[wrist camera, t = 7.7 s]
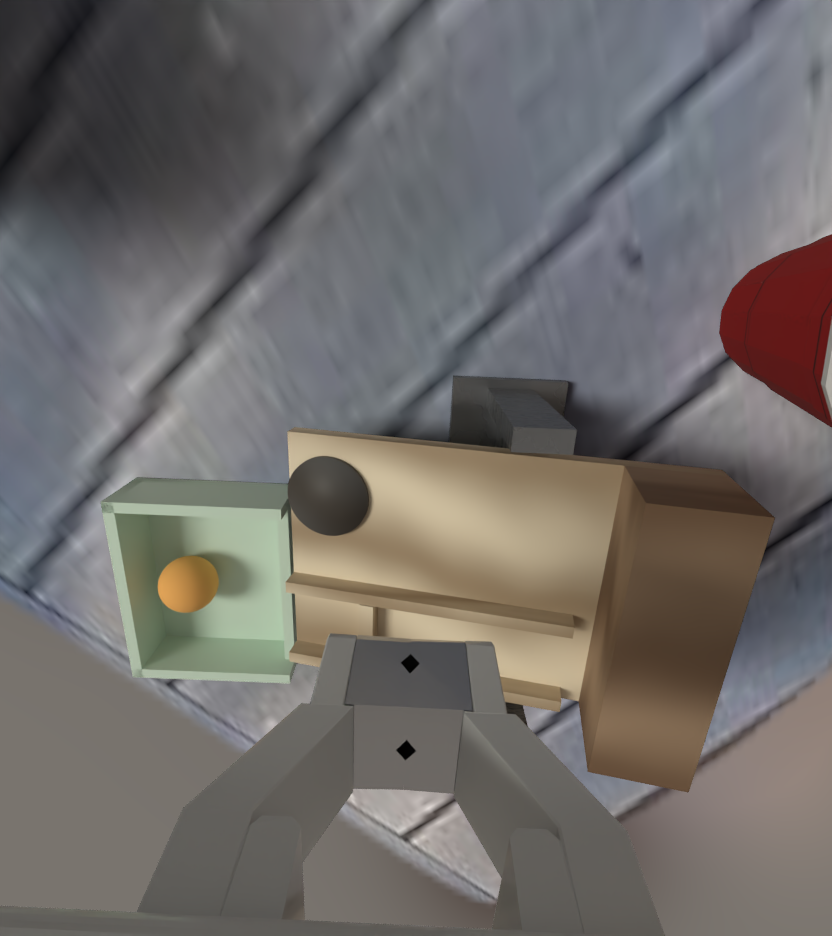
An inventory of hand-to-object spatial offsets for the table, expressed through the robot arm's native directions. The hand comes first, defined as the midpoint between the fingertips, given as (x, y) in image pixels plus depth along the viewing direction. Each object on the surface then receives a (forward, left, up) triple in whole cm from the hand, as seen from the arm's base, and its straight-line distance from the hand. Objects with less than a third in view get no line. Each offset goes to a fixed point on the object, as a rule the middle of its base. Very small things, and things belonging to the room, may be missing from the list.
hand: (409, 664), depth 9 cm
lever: (+6, +4, -14) cm, 16 cm away
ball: (+10, -13, -17) cm, 24 cm away
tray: (+10, -11, -19) cm, 25 cm away
